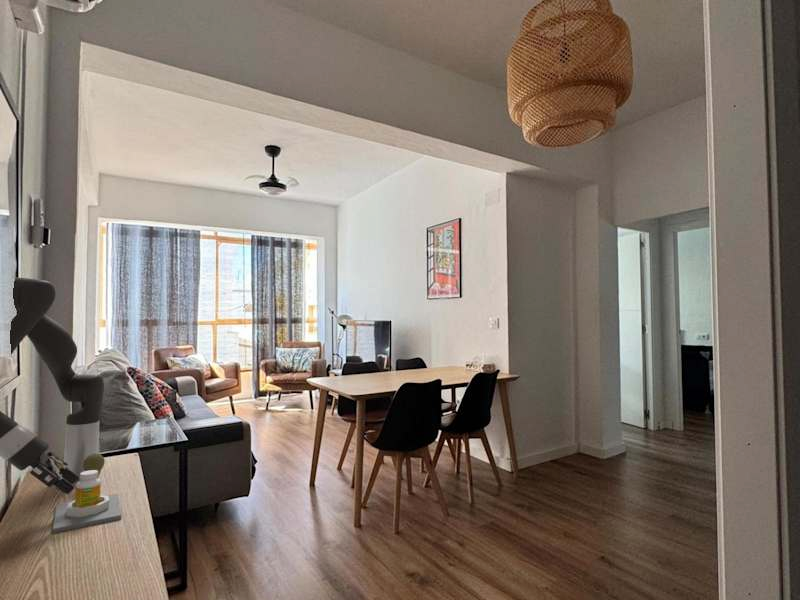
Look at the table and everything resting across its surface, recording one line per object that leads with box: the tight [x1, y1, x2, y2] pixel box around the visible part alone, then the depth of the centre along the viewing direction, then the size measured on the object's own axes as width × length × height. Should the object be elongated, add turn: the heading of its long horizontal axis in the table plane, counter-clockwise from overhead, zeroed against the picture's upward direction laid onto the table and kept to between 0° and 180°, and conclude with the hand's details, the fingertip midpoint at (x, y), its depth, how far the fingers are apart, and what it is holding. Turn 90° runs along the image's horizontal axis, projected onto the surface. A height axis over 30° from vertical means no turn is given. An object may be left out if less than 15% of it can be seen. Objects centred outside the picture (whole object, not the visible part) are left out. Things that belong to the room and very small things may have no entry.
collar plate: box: [52, 493, 122, 534], centre depth 116 cm, size 18×14×3 cm
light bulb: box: [83, 453, 106, 479], centre depth 136 cm, size 6×6×10 cm
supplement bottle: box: [74, 470, 102, 507], centre depth 116 cm, size 5×5×10 cm
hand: (73, 485), depth 115 cm, fingers open, 8 cm apart
